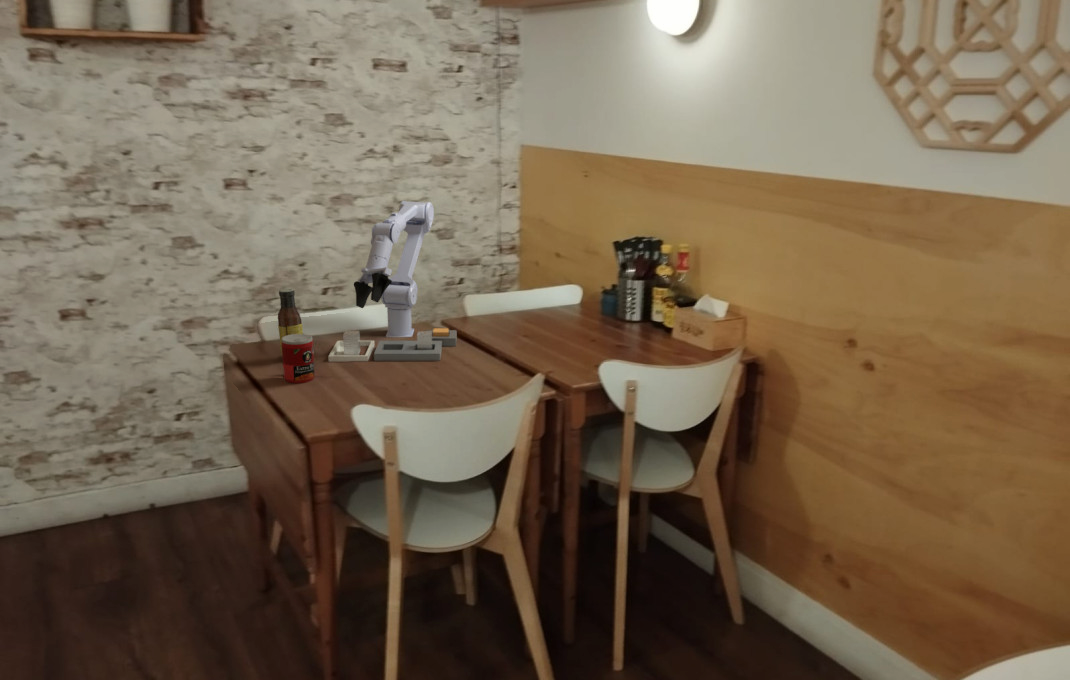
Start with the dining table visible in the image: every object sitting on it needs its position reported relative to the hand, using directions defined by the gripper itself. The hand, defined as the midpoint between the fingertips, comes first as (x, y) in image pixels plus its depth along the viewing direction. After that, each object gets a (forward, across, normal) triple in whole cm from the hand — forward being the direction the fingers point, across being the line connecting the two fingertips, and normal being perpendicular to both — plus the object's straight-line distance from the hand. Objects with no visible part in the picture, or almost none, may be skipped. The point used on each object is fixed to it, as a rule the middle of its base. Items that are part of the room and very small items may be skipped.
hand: (367, 303), depth 231 cm
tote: (+12, -10, +5) cm, 16 cm away
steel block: (+12, -9, +4) cm, 15 cm away
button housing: (+1, -1, +28) cm, 28 cm away
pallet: (+10, +1, +16) cm, 19 cm away
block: (+8, +4, +19) cm, 21 cm away
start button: (0, -1, +27) cm, 27 cm away
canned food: (+27, -2, -12) cm, 29 cm away
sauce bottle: (+18, -16, -9) cm, 26 cm away
